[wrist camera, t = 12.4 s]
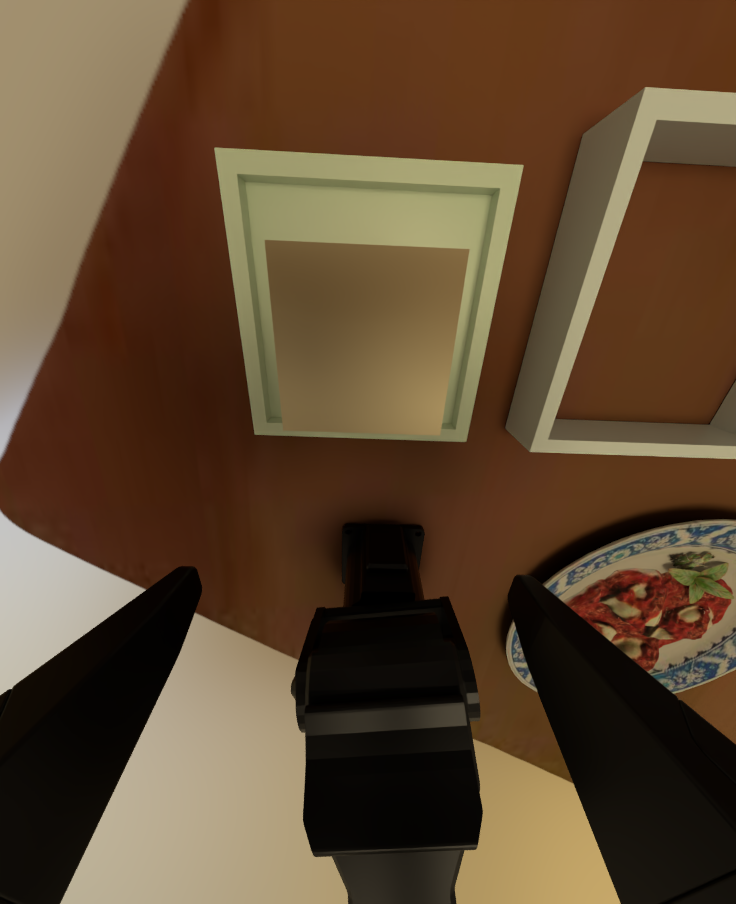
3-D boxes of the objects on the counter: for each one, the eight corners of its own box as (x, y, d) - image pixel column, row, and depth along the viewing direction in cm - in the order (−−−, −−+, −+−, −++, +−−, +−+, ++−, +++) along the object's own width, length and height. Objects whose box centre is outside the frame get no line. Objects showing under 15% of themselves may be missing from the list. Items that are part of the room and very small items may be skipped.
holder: (714, 435, 21) (775, 460, 18) (504, 428, 21) (529, 451, 17) (887, 152, 14) (1033, 111, 11) (583, 134, 14) (645, 87, 11)
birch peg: (402, 365, 18) (440, 435, 9) (325, 362, 18) (283, 430, 9) (410, 276, 16) (469, 249, 7) (322, 272, 16) (264, 239, 7)
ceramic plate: (602, 704, 38) (620, 734, 35) (444, 633, 31) (452, 664, 29) (837, 584, 28) (886, 614, 26) (682, 445, 22) (726, 466, 19)
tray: (457, 429, 21) (466, 442, 19) (264, 422, 20) (254, 434, 18) (504, 181, 15) (523, 165, 13) (233, 166, 14) (214, 147, 13)
